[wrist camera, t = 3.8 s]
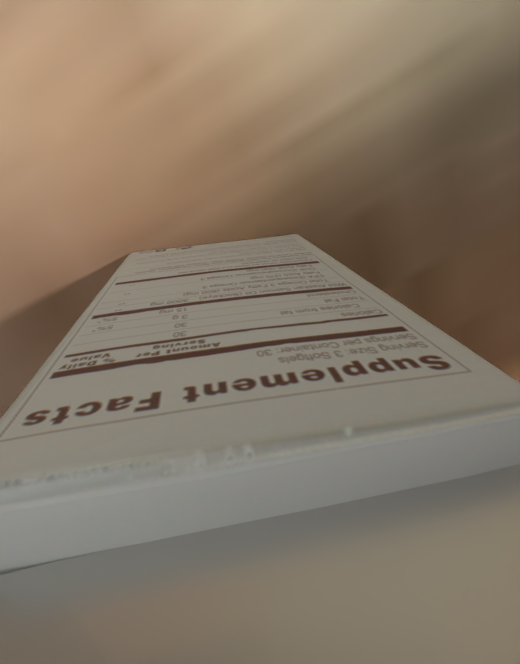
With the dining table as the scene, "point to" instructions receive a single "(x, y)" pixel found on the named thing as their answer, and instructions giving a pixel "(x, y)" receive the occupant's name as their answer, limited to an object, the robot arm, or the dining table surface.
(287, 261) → the supplement box
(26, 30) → the dining table surface
